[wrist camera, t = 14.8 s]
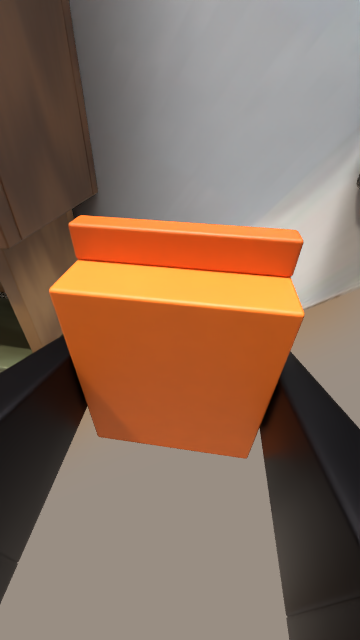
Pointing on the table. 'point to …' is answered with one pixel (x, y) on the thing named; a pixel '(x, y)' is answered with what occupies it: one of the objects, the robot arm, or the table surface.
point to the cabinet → (40, 119)
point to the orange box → (179, 328)
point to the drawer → (32, 290)
